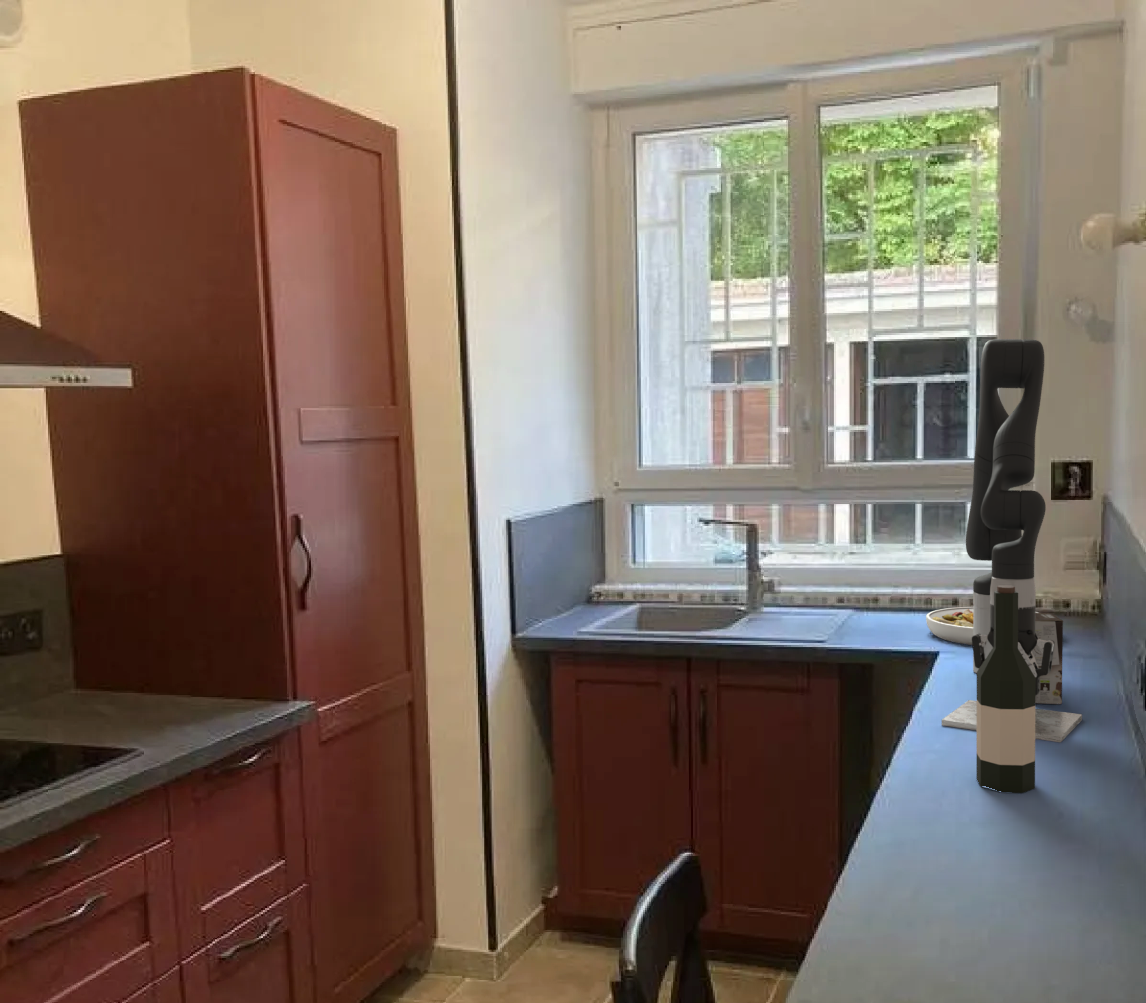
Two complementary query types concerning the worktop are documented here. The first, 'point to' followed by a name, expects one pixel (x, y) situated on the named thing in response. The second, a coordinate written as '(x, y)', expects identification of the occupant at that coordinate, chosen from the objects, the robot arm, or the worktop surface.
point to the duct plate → (1046, 721)
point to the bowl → (952, 624)
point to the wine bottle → (1006, 705)
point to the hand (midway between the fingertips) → (1012, 694)
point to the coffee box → (1051, 683)
